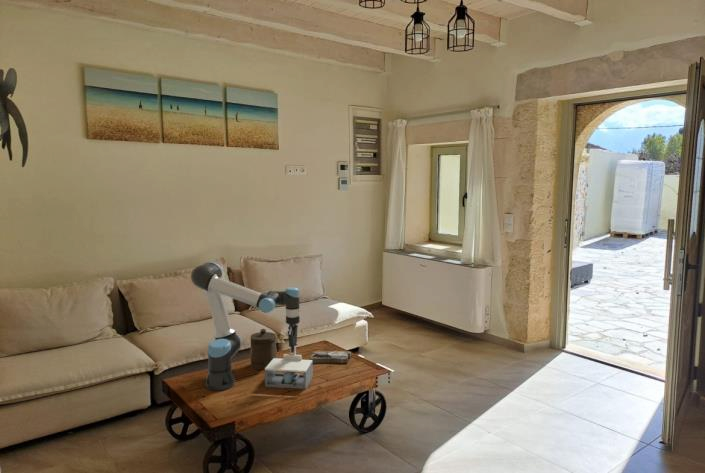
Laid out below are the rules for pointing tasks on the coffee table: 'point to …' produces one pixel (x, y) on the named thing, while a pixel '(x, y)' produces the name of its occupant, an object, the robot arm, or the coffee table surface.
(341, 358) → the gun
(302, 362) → the lid
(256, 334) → the wooden container
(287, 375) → the peg
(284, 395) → the coffee table surface
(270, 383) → the housing
